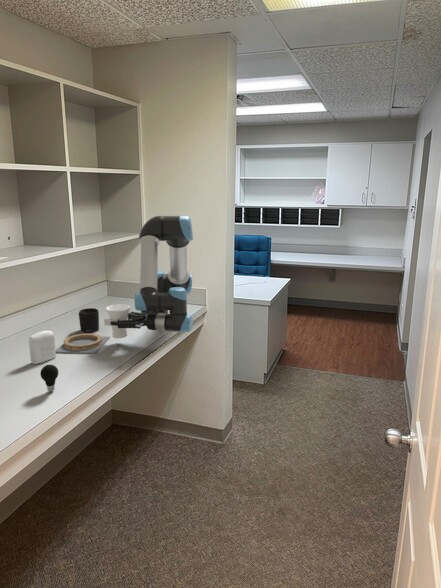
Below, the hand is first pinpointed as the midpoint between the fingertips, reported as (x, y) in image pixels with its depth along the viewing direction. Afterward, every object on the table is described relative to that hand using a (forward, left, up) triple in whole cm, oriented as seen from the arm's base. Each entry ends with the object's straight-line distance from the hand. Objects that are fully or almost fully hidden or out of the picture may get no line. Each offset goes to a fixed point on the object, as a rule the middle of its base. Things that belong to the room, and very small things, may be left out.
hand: (109, 318), depth 200 cm
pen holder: (-17, -15, -12) cm, 26 cm away
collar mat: (+3, -11, -12) cm, 17 cm away
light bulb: (+48, -6, -12) cm, 50 cm away
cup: (0, +5, -8) cm, 9 cm away
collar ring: (+3, -11, -12) cm, 17 cm away
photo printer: (+21, -21, -12) cm, 33 cm away
